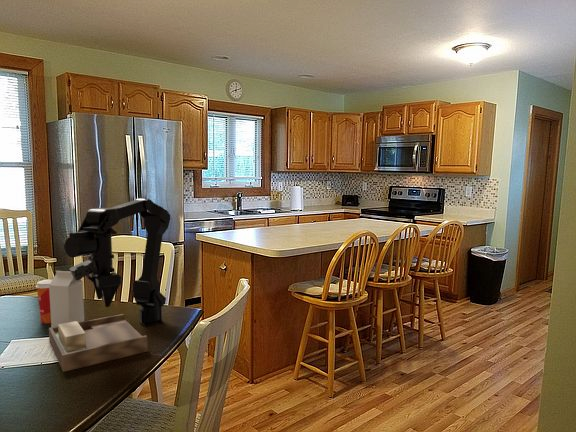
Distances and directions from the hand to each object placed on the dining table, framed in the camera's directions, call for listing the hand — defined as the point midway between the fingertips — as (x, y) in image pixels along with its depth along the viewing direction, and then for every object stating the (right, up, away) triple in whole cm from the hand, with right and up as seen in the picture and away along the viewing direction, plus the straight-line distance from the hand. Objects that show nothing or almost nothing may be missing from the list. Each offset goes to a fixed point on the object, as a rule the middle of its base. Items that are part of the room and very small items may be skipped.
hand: (103, 302), depth 127 cm
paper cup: (-28, -11, +21) cm, 37 cm away
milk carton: (-19, -11, +16) cm, 27 cm away
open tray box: (-2, -13, 0) cm, 13 cm away
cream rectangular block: (-7, -10, -5) cm, 13 cm away
